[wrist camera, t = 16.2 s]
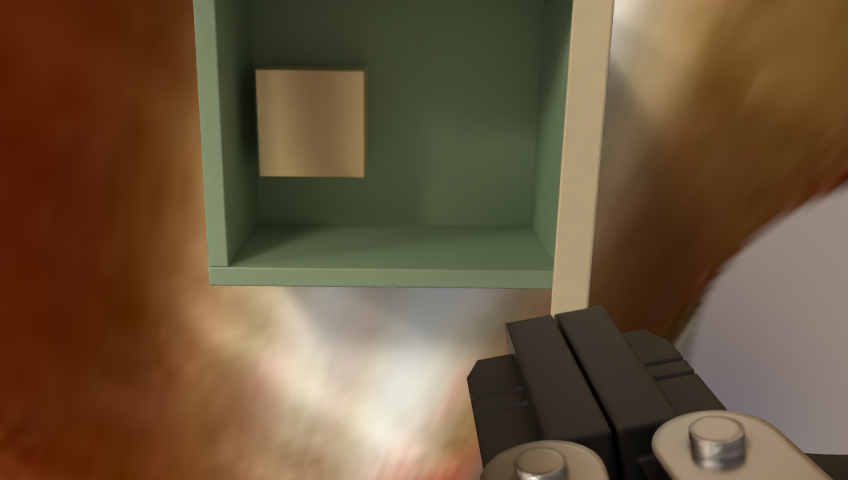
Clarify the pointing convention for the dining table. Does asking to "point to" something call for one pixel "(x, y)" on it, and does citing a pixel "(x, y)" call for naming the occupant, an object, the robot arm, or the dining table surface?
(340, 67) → the block
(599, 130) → the chest lid
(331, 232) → the chest
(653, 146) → the dining table surface
